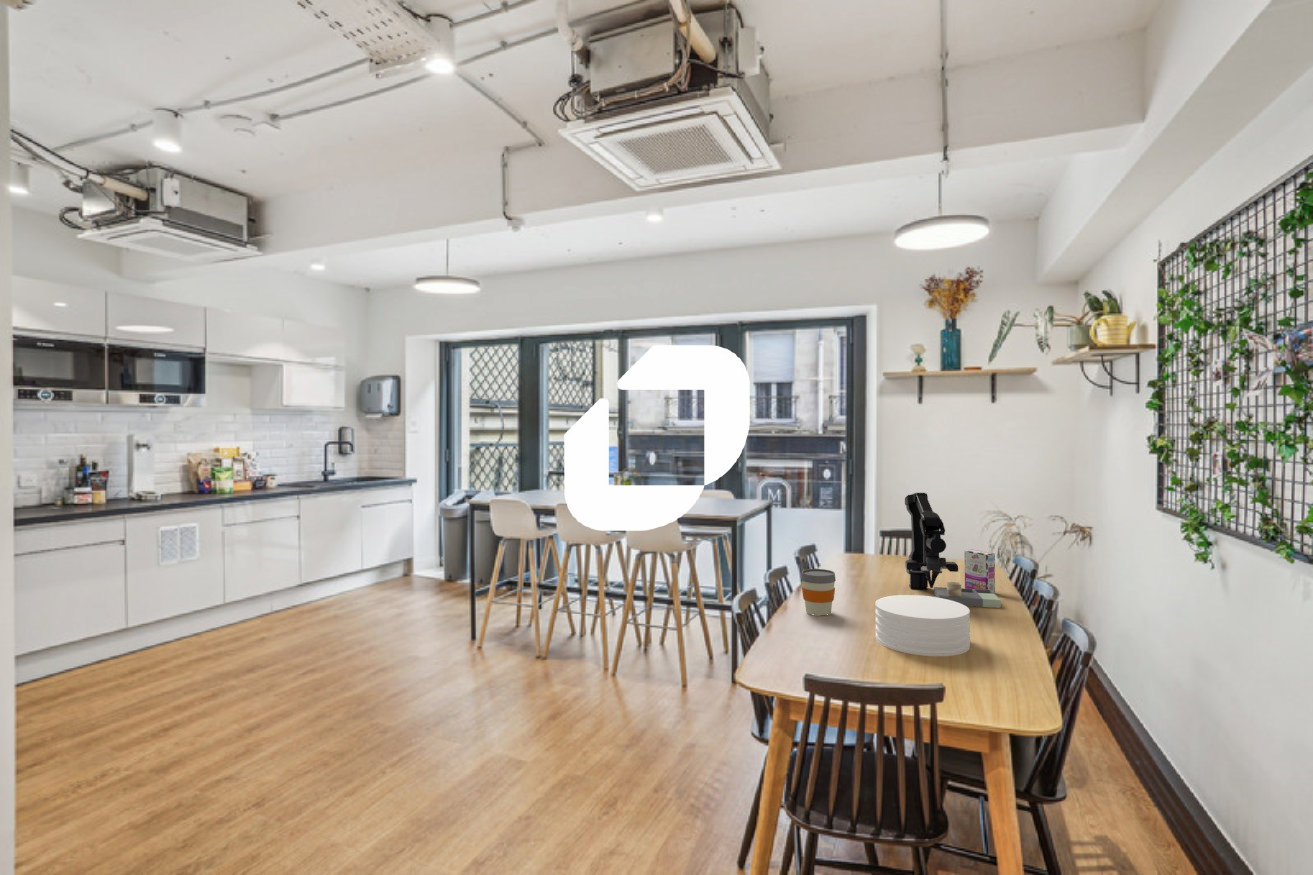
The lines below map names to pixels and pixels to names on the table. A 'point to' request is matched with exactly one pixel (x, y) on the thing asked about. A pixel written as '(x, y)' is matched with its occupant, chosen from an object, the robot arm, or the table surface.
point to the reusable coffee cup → (818, 590)
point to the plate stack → (922, 625)
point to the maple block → (954, 589)
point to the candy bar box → (979, 570)
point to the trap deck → (971, 597)
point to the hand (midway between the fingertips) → (931, 587)
